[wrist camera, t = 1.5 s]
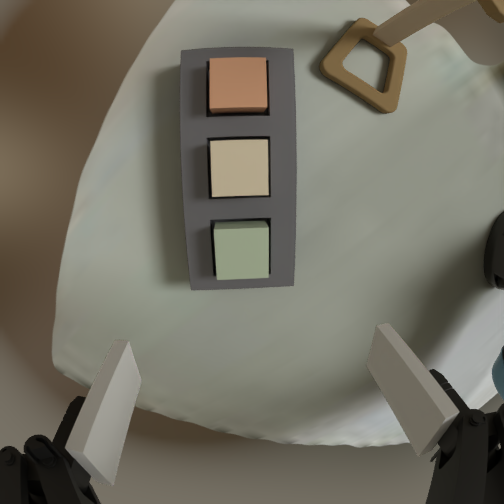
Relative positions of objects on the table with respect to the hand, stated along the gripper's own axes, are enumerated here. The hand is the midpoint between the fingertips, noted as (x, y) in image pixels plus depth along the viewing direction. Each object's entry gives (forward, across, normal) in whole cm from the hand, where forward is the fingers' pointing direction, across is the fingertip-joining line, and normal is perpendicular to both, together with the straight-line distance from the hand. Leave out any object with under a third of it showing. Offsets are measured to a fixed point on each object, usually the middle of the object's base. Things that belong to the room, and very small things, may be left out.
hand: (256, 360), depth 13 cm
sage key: (+18, 0, 0) cm, 18 cm away
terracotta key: (+18, 0, -16) cm, 24 cm away
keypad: (+21, 0, -8) cm, 22 cm away
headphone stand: (+21, -16, -22) cm, 34 cm away
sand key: (+18, 0, -8) cm, 20 cm away
